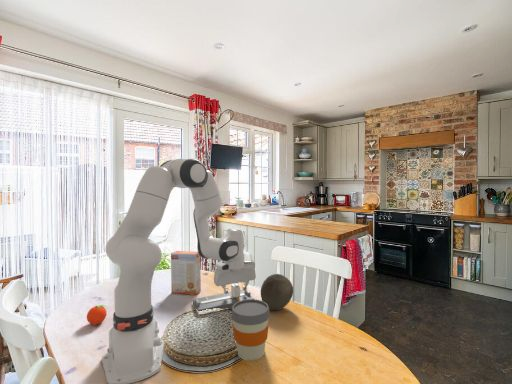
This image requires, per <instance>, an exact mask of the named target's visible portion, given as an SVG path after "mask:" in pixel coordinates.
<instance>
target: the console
mask: <svg viewBox="0 0 512 384" xmlns="http://www.w3.org/2000/svg"><path fill="white" fill-rule="evenodd" d="M247 299H255V297H253V296H252V294H251V291H249V290H248V289H247V290H243V289H240V297H236V298H235V297H234V296H233V295H232V294H231V291H228V294H224V292H223V293H219V294H214V295H208V296H203V297H196V298H193V299H192V306H193V307H194V308H193V309H195V310H196V309H197V310H198V311H202V310H206V309H213V308H229V309H228V310H232V307H233V305H234V304H235V303H237V302H239V301H242V300H247Z"/></svg>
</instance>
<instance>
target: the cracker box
mask: <svg viewBox="0 0 512 384" xmlns="http://www.w3.org/2000/svg"><path fill="white" fill-rule="evenodd" d="M170 273H171V274H170V278H171V279H170V280H171V281H170V285H171V293H172V294H181V295H194V296H195V295H197V294H199V293H200V292H201V289H202V287H201V286H202V285H201V284H202V281H201V280H202V279H201V256H200V255H199V253H198V251H193V250H192V251H191V250H190V251H186V250H175V251H172V252H171V253H170Z"/></svg>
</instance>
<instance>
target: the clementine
mask: <svg viewBox="0 0 512 384" xmlns="http://www.w3.org/2000/svg"><path fill="white" fill-rule="evenodd" d="M105 307H106V305H103V304H99V305H95V306H92V307H91V308H90V309H89V310H88V312H87V313H86V321H87V322H88V323H89V324H91V325H94V326H95V325H100V324H101V323H103V322H104V321H105V319H106V317H107V315H108V314H107V313H108V311H107V309H106V308H105Z"/></svg>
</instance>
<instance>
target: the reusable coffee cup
mask: <svg viewBox="0 0 512 384" xmlns="http://www.w3.org/2000/svg"><path fill="white" fill-rule="evenodd" d="M231 319H232V321H233V322H232V331H233V339H234V341H235V345H236V352H237V351H238V353H237V355H238V357H239V358H240V359H242V360H244V361H256V360H259V359H261V358H263V356H264V354H265V350H266V341H267V339H268V334H269V324H270V323H269V319H270V309H269V306H268V304H267V303H265V302H263V301H262V299H261V300H260V299H255V298H254V299H247V300H242V301H239V302H237V303H235V304H234V305H233V307H232V308H231Z"/></svg>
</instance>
